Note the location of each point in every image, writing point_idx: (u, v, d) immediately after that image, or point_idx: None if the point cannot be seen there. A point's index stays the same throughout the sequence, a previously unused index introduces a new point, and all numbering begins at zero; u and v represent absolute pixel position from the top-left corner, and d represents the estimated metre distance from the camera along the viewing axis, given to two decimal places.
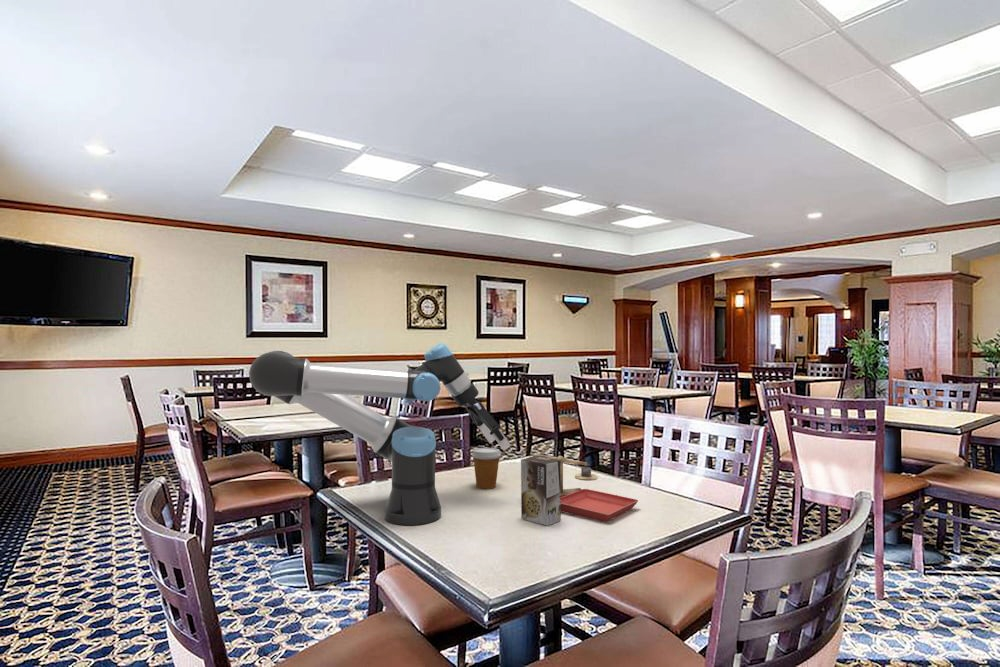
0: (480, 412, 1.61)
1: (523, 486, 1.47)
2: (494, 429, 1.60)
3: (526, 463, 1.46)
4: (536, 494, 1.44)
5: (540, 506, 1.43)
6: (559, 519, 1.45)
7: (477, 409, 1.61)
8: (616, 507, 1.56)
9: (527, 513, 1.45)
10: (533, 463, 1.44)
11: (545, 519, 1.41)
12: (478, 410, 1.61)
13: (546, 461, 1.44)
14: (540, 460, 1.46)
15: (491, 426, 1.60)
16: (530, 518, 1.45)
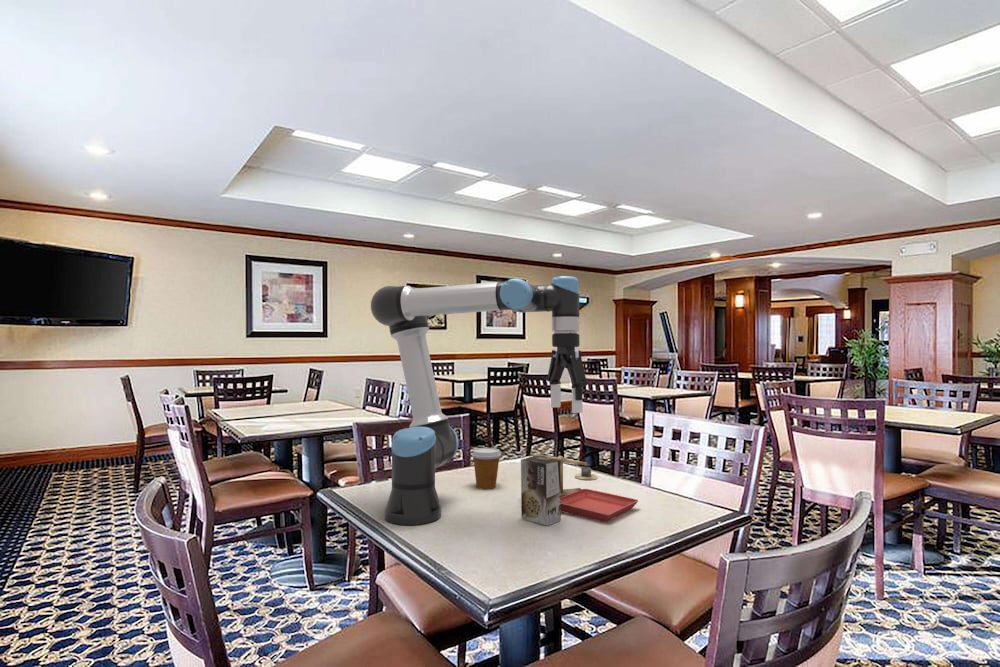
0: (575, 360, 1.44)
1: (523, 486, 1.47)
2: (580, 383, 1.41)
3: (526, 463, 1.46)
4: (536, 494, 1.44)
5: (540, 506, 1.43)
6: (559, 519, 1.45)
7: (574, 355, 1.44)
8: (617, 507, 1.56)
9: (527, 513, 1.45)
10: (533, 463, 1.44)
11: (545, 519, 1.41)
12: (574, 357, 1.44)
13: (546, 461, 1.44)
14: (540, 460, 1.46)
15: (579, 378, 1.42)
16: (530, 518, 1.45)
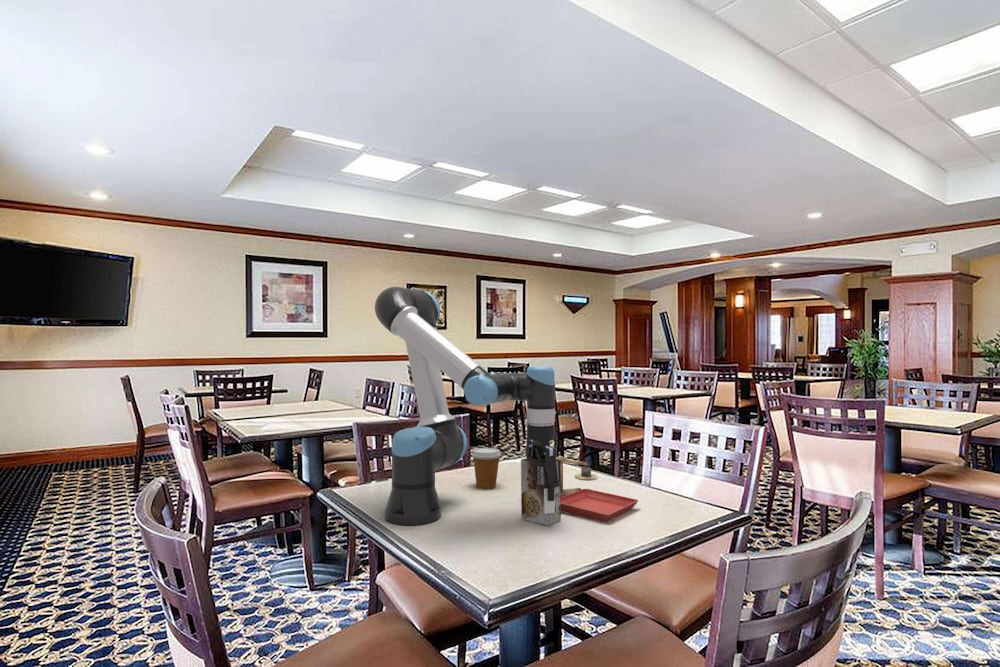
0: (549, 459, 1.40)
1: (523, 486, 1.47)
2: (552, 484, 1.38)
3: (526, 463, 1.46)
4: (536, 494, 1.44)
5: (540, 506, 1.43)
6: (559, 519, 1.45)
7: (548, 454, 1.40)
8: (617, 507, 1.56)
9: (528, 513, 1.46)
10: (533, 463, 1.45)
11: (545, 519, 1.42)
12: (548, 455, 1.40)
13: None
14: None
15: (551, 480, 1.38)
16: (530, 518, 1.45)
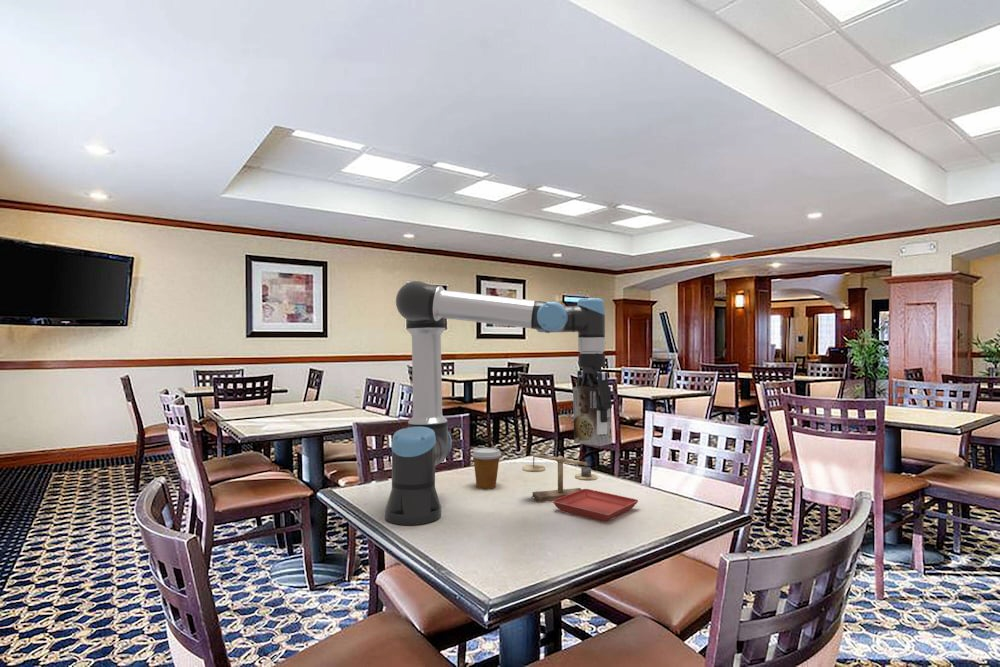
0: (601, 382, 1.48)
1: (575, 412, 1.55)
2: (605, 406, 1.46)
3: (578, 389, 1.54)
4: (588, 418, 1.52)
5: (592, 429, 1.51)
6: (610, 442, 1.53)
7: (600, 378, 1.48)
8: (617, 507, 1.56)
9: (580, 436, 1.54)
10: (585, 389, 1.53)
11: (598, 440, 1.50)
12: (601, 379, 1.48)
13: None
14: None
15: (604, 401, 1.46)
16: (582, 441, 1.53)
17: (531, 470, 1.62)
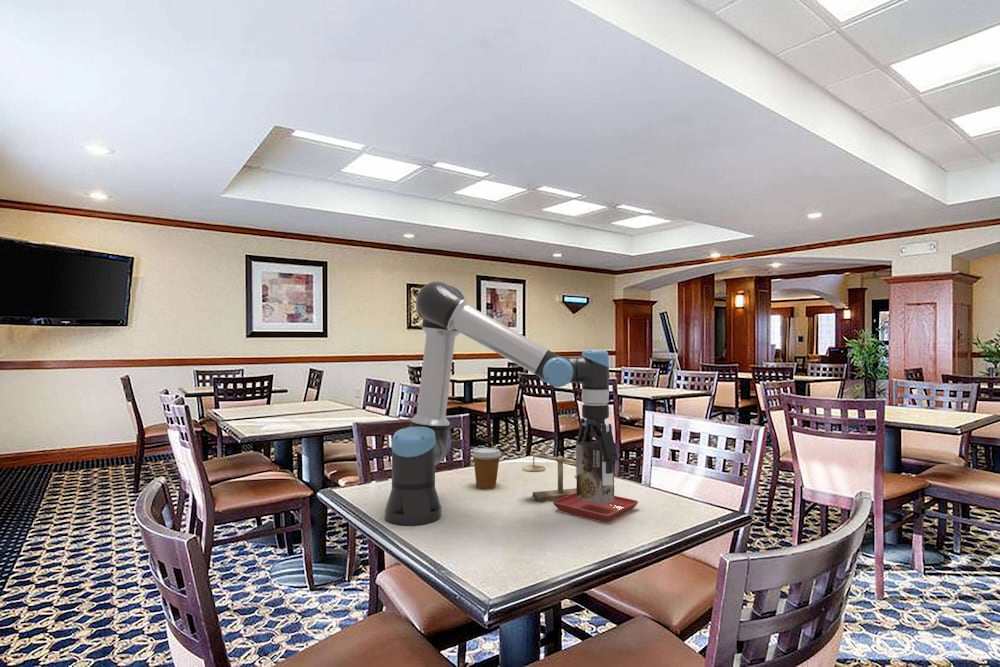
0: (606, 434, 1.48)
1: (578, 469, 1.55)
2: (611, 457, 1.46)
3: (581, 447, 1.55)
4: (591, 476, 1.52)
5: (595, 487, 1.51)
6: (613, 500, 1.54)
7: (605, 429, 1.49)
8: None
9: (583, 494, 1.54)
10: (588, 447, 1.53)
11: (601, 499, 1.50)
12: (605, 431, 1.49)
13: None
14: (595, 444, 1.54)
15: (610, 453, 1.46)
16: (585, 499, 1.54)
17: (531, 470, 1.62)
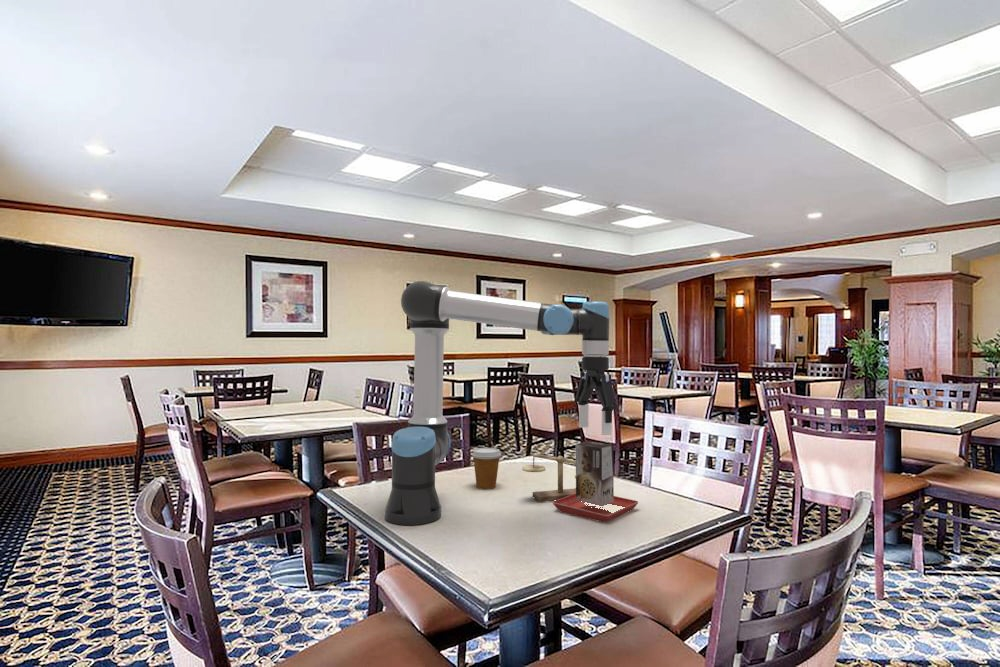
0: (605, 383, 1.49)
1: (578, 469, 1.55)
2: (611, 406, 1.46)
3: (581, 447, 1.55)
4: (591, 477, 1.52)
5: (595, 488, 1.51)
6: (612, 500, 1.54)
7: (604, 379, 1.49)
8: None
9: (582, 495, 1.54)
10: (588, 447, 1.53)
11: (600, 500, 1.50)
12: (605, 380, 1.49)
13: (600, 445, 1.53)
14: (594, 445, 1.54)
15: (609, 402, 1.46)
16: (584, 499, 1.54)
17: (531, 470, 1.62)
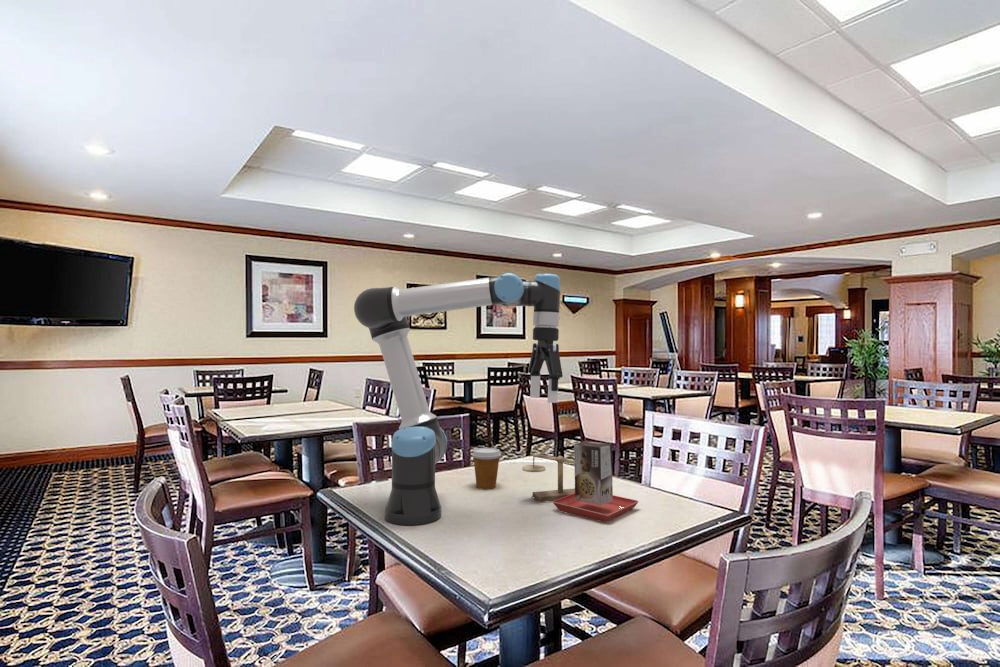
0: (552, 353, 1.53)
1: (577, 469, 1.55)
2: (556, 374, 1.50)
3: (580, 447, 1.54)
4: (590, 476, 1.52)
5: (594, 487, 1.51)
6: (611, 500, 1.54)
7: (552, 348, 1.53)
8: (617, 508, 1.56)
9: (581, 494, 1.54)
10: (587, 447, 1.53)
11: (600, 499, 1.50)
12: (552, 350, 1.53)
13: (599, 445, 1.53)
14: (593, 444, 1.54)
15: (555, 370, 1.50)
16: (584, 499, 1.53)
17: (531, 470, 1.62)
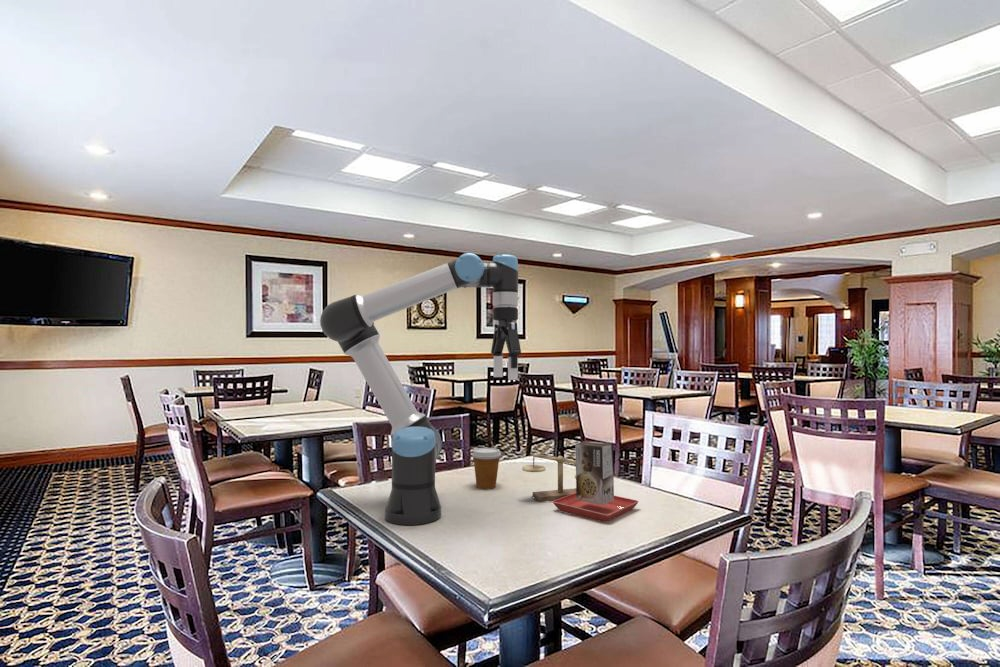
0: (511, 331, 1.56)
1: (578, 469, 1.55)
2: (515, 352, 1.53)
3: (581, 447, 1.55)
4: (592, 476, 1.52)
5: (596, 487, 1.51)
6: (613, 499, 1.54)
7: (510, 327, 1.57)
8: (617, 508, 1.56)
9: (583, 494, 1.54)
10: (588, 447, 1.53)
11: (602, 499, 1.50)
12: (510, 328, 1.57)
13: (601, 444, 1.53)
14: (594, 444, 1.54)
15: (513, 348, 1.54)
16: (585, 499, 1.54)
17: (531, 470, 1.62)
